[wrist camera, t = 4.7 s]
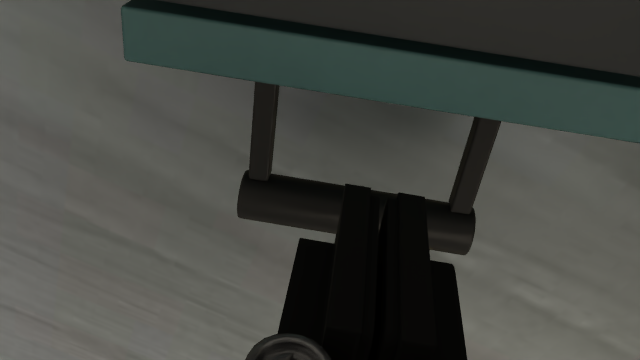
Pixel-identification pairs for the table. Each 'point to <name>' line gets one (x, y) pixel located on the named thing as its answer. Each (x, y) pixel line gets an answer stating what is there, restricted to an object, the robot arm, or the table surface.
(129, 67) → the table surface
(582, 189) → the table surface
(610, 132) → the teal drawer
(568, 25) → the drawer cabinet
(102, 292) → the table surface
